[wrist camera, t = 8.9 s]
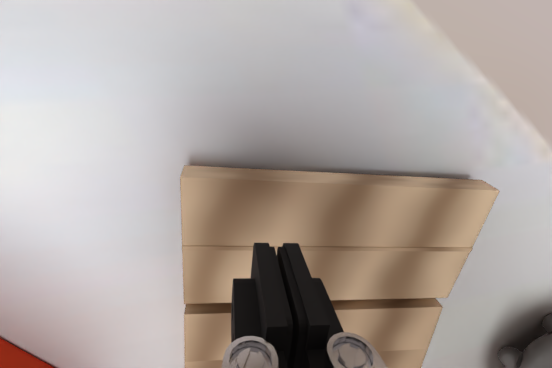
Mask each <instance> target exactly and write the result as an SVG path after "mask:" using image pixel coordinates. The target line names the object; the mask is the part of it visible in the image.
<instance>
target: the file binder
mask: <svg viewBox="0 0 552 368" xmlns="http://www.w3.org/2000/svg"><path fill="white" fill-rule="evenodd" d="M0 368H54V367H52V366H50V365H49V364H47V363H45V362H43V361H41V360H39V359H38V358H36V357H34V356H32V355H30V354H29V353H27V352H25V351H23V350H21V349H19V348H18V347H16V346H14V345H12V344H10V343H9V342H7V341H5V340H3V339H1V338H0Z"/></svg>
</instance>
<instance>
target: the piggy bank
mask: <svg viewBox="0 0 552 368" xmlns="http://www.w3.org/2000/svg"><path fill="white" fill-rule="evenodd" d="M542 325H543V327H544V329H545V330H546V332H547V334H545V335H543V336H541V337H539V338H537V339H536V340H534V341H533V342H531V343H530V344H529V345H528V346H527V347H526V349H525V350H524V351H523V352H521V351H519V350H518V349H516V348H513V347H509V346H507V347H504V348H502V349H501V350H500V351H499V352H498V358H499V360H500V361H501V363H502V364H503V365H504V366H505V367H506V368H552V314H548V315H547V316H545V317H544V319H543V321H542Z"/></svg>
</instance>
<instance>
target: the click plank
mask: <svg viewBox="0 0 552 368" xmlns="http://www.w3.org/2000/svg"><path fill="white" fill-rule="evenodd" d="M180 184H181V218H182V253H183V287H184V304H194V303H231V302H232V285H233V278H251V267H252V256H253V245H254V243H269V246H270V247H274V248H275V251H276V255H277V249H278V247H282V246H283V243H298V244H299V246H300V249H301V251H302V254H303V256H304V259H305V262H306V264H307V267H308V269H309V272H310V274H311V277H312V278H320V279H321V280H322V282H323V284H324V287H325V289H326V291H327V294H328V296H329V298H330V300H364V299H407V298H448V296H449V293H450V291H451V289H452V287H453V285H454V283H455V281H456V279H457V277H458V275H459V273H460V271H461V269H462V267H463V265H464V263H465V261H466V259H467V257H468V255H469V253H470V252H471V250H472V246H473V244H474V242H475V240H476V238H477V236H478V234H479V232H480V230H481V228H482V226H483V224H484V222H485V220H486V218H487V216H488V214H489V212H490V210H491V207H492V205H493V203H494V201H495V199H496V197H497V195H498V193H499V190H497V189H496V188H494V187H492V186H491V185H489V184H487V183H486V182H484V181H483V180H471V179H450V178H430V177H410V176H390V175H369V174H349V173H329V172H308V171H288V170H268V169H248V168H227V167H207V166H187V165H184V168H183V171H182V174H181V176H180Z"/></svg>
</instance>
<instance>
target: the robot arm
mask: <svg viewBox="0 0 552 368" xmlns="http://www.w3.org/2000/svg"><path fill="white" fill-rule="evenodd" d="M221 368H388V367H387V366H386V364H385V363H384V361H383V360H382V358H381V357H380V355H379V354H378V352H377V351H376V350H375V348H374V347H373V346H372V345H371V344H370V342H368V341H367V340H366V339H364V338H363V337H361V336H359V335H357V334H354V333H349V332H344V331H343V328H342V326H341V324H340V321H339V319H338V317H337V314H336V312H335V310H334V308H333V305H332V303H331V301H330V298H329V296H328V294H327V291H326V289H325V287H324V284H323V282H322V280H321V279H320V278H312V277H311V274H310V272H309V269H308V267H307V264H306V262H305V259H304V256H303V254H302V251H301V249H300V246H299V244H298V243H283V246H282V247H278V249H277V255H276V251H275V248H274V247H270V246H269V243H254V245H253V256H252V267H251V278H233V285H232V302H231V344H230V345H229V346H228V347H227V349H226V351H225V354H224V356H223V362H222V367H221Z"/></svg>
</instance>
